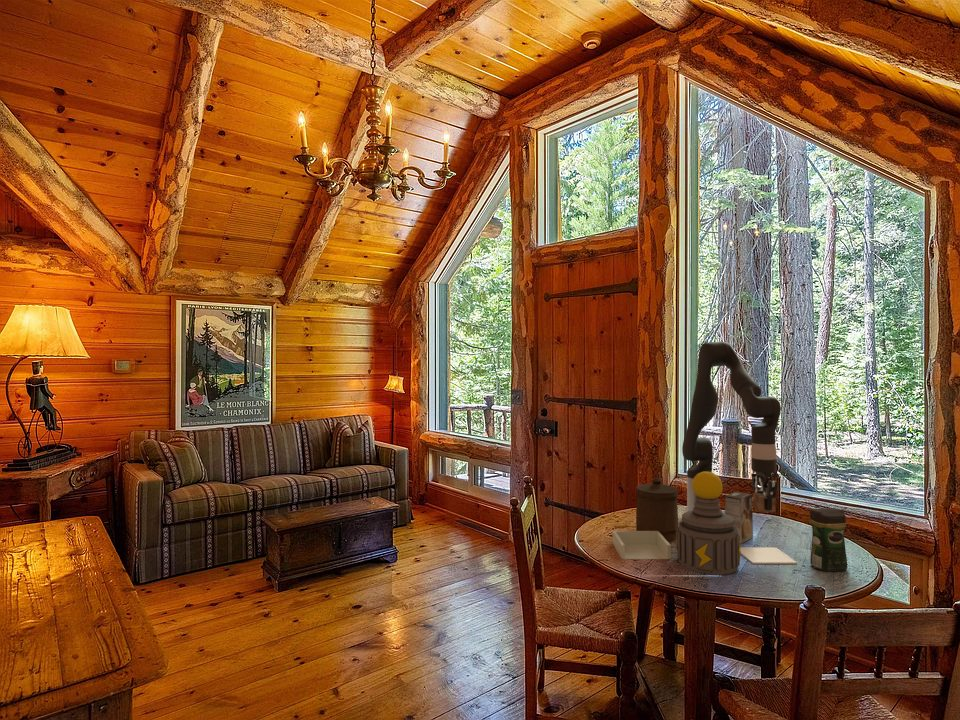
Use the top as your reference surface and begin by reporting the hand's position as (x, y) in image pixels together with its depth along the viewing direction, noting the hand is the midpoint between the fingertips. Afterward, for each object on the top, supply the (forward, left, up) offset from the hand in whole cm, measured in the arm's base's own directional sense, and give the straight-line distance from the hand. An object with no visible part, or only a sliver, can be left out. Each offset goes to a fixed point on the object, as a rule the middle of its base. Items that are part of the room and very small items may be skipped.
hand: (764, 507), depth 188 cm
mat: (0, 0, -16) cm, 16 cm away
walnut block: (0, 0, -1) cm, 1 cm away
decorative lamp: (+8, -21, -16) cm, 28 cm away
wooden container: (-20, -30, -16) cm, 40 cm away
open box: (-3, -40, -16) cm, 43 cm away
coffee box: (-18, -1, -16) cm, 24 cm away
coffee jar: (+10, +15, -16) cm, 24 cm away
